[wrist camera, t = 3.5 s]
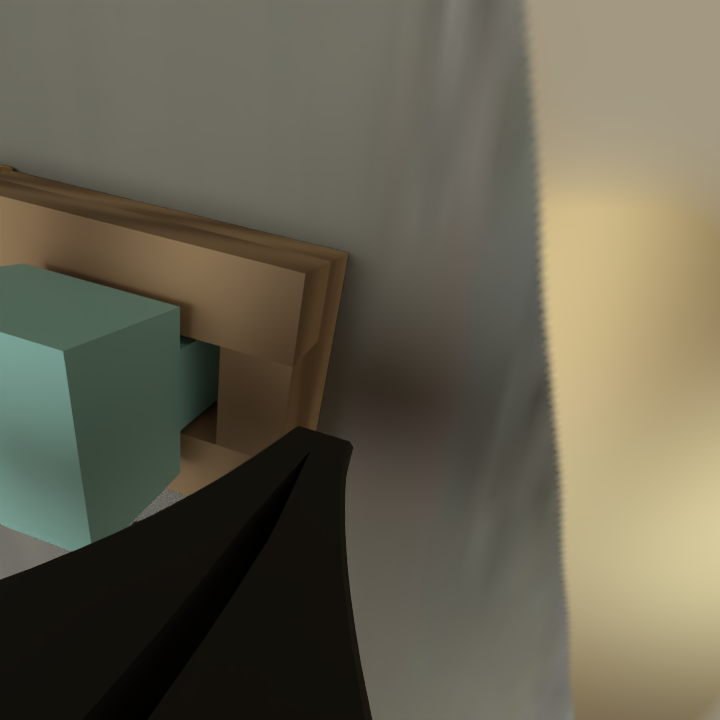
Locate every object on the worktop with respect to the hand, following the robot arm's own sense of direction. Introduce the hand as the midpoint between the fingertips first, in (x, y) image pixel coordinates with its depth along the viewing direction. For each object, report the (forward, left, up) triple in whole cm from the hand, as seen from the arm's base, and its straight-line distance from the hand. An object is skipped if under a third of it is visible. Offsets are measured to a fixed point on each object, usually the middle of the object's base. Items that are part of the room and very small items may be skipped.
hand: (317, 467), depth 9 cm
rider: (0, +6, -3) cm, 7 cm away
